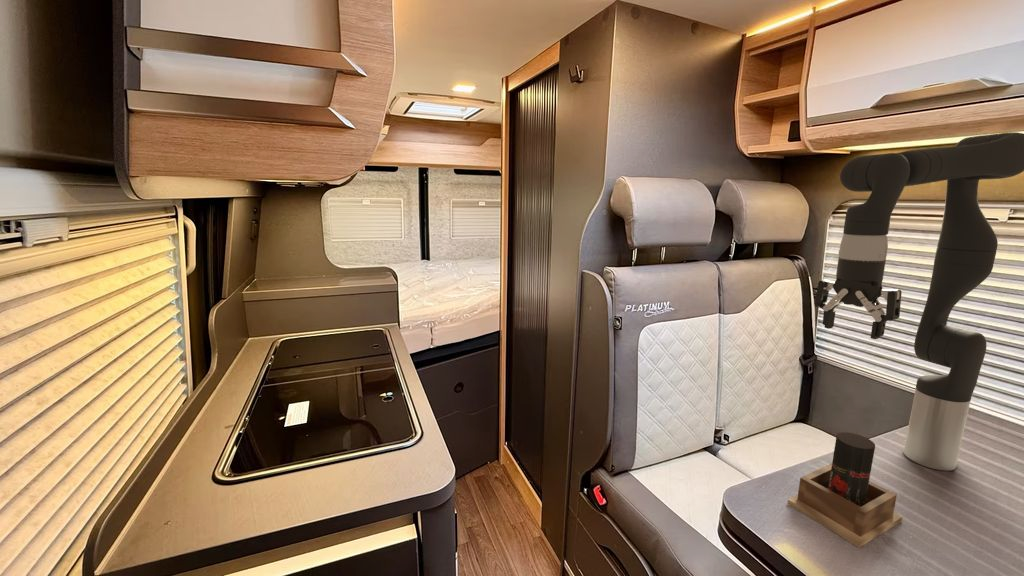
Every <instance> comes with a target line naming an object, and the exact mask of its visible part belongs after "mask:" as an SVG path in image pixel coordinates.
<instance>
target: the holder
mask: <svg viewBox="0 0 1024 576" xmlns="http://www.w3.org/2000/svg"><path fill="white" fill-rule="evenodd" d="M831 468H832V462H831V463H830V464H828V465H825V466H822V467H821V468H818V469H816V470H814V471H812V472H810V473H808V474H806V475H803V476H801V477H800V478H799V484H798V492H797V494H796V495H794V496H791V497H790V498H788V499H787V505H789V506H790V507H792V508H794V509H796V510H797V511H799V512H800V513H802V514H804V515H805V516H807V517H809V519H812V520H814V521H815V522H816V523H818V524H820V525H821V526H823V527H825V528H826V529H828V530H829V531H831V532H833V533H835V534H836V535H837V536H839V537H840V538H843V539H844V540H845V541H848V542H849V543H851V544H852V545H854V546H855V547H857V548H858V549H860V548H861V547H863V546H865V545H866V544H868V543H869V542H871V541H872V540H875V539H876V538H877V537H879V536H881V535H883V534H884V533H885V532H887V531H889V530H891V529H892V528H893V527H895V526H896V525H898V524H900V523H901V522H902V521H903V516H902V515H900V514H898V513H896V512H895V508H896V502H897V498H898V497H897V496H898V494H897V493H895V492H893V491H891V490H889V489H887V488H884V487H882V486H880V485H878V484H876V483H874V482H872V481H870V480H869V484H868V490H867V495H866V501H865V505H863V506H862V507H860V506H858V505H856V504H854V503H853V502H851V501H849V500H847V499H845V498H843V497H842V496H840V495H838V494H836V493H834V492H832V491H830V490H829V489H828V487H829V480H830V474H831Z"/></svg>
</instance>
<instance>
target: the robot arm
mask: <svg viewBox="0 0 1024 576" xmlns="http://www.w3.org/2000/svg"><path fill="white" fill-rule="evenodd" d="M1023 172H1024V133H1022V132H1018V131H1017V132H1011V131H1009V132H1002V133H1001V132H1000V133H995V134H994V133H993V134H992V133H991V134H983V135H976V136H974V135H973V136H969V137H965V138H962V139H960V141H958V142H957V143H956V144H955V145H953V146H937V147H936V146H934V147H925V148H917V149H910V150H905V151H900V152H889V153H888V152H887V153H879V154H870V155H859V156H856V157H854V158H851V159H850V160H849V161H847V162H846V163H845V164H844V166H843V167H842V168H841V171H840V174H839V180H840V183H841V184H842V186H843V187H844V188H845V189H847V190H848V191H850V192H856V193H862V192H863V193H864V192H866V193H867V192H870V195H869V196H868V197H867V200H866V201H865V202H863V203H858V204H854V205H851V206H850V207H848V208H847V209H846V212H845V219H844V226H843V230H842V231H843V232H842V233H843V234H842V238H841V240H840V245H839V250H838V259H837V267H836V275H835V276H836V277H835V278H836V279H835V281H831V280H830V279H823V280H819V281H818V284H817V288H816V292H815V298H814V302H813V303H814V304H813V305H814V307H816V308H820V309H822V311H823V316H822V325H823V326H824V329H827V330H829V329H833V328H834V325H835V317H836V313H837V312H836V311H835V309H836V308H837V307H839V306H840V305H842V304H844V305H848V306H850V305H852V306H855V307H858V308H859V307H860V308H863V307H864V308H865V309H866V312H868V313H870V314H869V315H871V317H872V318H873V321H872V324H871V326H872V327H871V331H870V339H873V340H878V339H880V338H881V337H883V336H884V334H885V329H886V324H887V322H892V321H894V320H898V319H900V315H901V314H900V313H901V303H902V290H901V289H899V288H896V289H884V288H883V280H884V275H885V274H884V273H885V267H886V262H887V255H888V250H889V248H888V246H889V230H890V223H891V217H892V214H893V211H894V209H895V207H896V205H897V203H898V201H899V199H900V197H901V195H902V193H903V191H904V189H905V188H906V187H911V186H912V187H913V186H918V185H925V184H932V183H938V182H941V181H942V182H944V181H946V192H945V201H944V202H945V204H944V210H943V217H942V223H941V228H940V231H939V232H940V234H939V238H938V241H937V245H936V251H935V255H934V259H933V266H932V267H933V268H932V272H931V273H932V274H931V278H930V284H929V290H928V293H927V298H926V302H925V306H924V308H923V312H922V315H921V318H920V321H919V324H918V327H917V331H916V333H915V337H914V345H913V347H914V348H913V349H914V354H915V356H916V357H917V358H918V359H920V360H923V361H926V362H928V363H932V364H936V365H939V366H943V367H946V368H950V370H949V372H948V374H947V375H940V374H939V375H938V374H937V375H936V374H927V375H922V376H919V377H918V378H917V381H916V384H915V388H914V390H915V391H914V395H913V401H912V406H911V412H910V416H909V422H908V426H907V432H906V436H905V441H904V447H903V451H902V452H903V454H904V456H905V457H906V458H908V459H909V460H911V462H912V461H913V462H914V463H916V464H919V465H921V466H923V467H926V468H929V469H934V470H939V471H948V472H949V471H954V470H955V469H956V467H957V463H958V459H959V455H960V450H961V446H962V442H963V437H964V432H965V428H966V423H967V419H968V413H969V410H970V406H971V405H970V404H971V402H972V401H971V400H972V396H973V393H974V391H975V389H976V385H977V383H978V379H979V375H980V371H981V368H982V365H983V362H984V360H985V355H986V352H987V340H986V337H985V336H984V335H983V334H982V333H981V332H979V331H978V332H977V331H974V330H969V329H964V328H960V327H954V326H950V325H947V323H948V319H949V316H950V314H951V312H952V310H953V309H954V308H955V306H956V305H957V303H959V302H960V301H961V300H962V299H963V298H964V297H965V296H966V295H968V294H969V293H970V292H972V291H973V290H974V289H976V288H977V287H978V286H980V285H981V284H982V283H983V282H984V281H985V280H986V279H987V278H988V277H989V276H990V275H991V273H992V271H993V268H994V263H995V259H996V256H997V255H996V254H997V251H998V238H997V236H996V233H995V231H994V229H993V228H992V226H991V224H990V222H989V221H988V219H987V218H986V216H985V215H984V214H983V212H982V210H981V207H980V205H979V201H978V193H979V192H978V189H979V183H980V180H981V181H982V180H998V179H999V180H1001V179H1007V178H1012V177H1015V176H1018V175H1021V173H1023ZM832 289H833V290H834V292H835V293H836V294H835V296H833V297H832V298H831V299H830V300H829V301H828V299H829V298H828V296H829V293H830V291H831V290H832ZM881 296H883V299H884V300H885V301H886V309H885V310H884V309H883V305H882V304H881V302H880V300H879V298H880V297H881Z"/></svg>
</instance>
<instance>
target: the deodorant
mask: <svg viewBox="0 0 1024 576" xmlns="http://www.w3.org/2000/svg"><path fill="white" fill-rule="evenodd" d="M833 449H834V450H833V456H832V462H831V463H832V468H831V474H830V480H829V487H828V489H829V490H830V491H832V492H834V493H836V494H838V495H840V496H842V497H843V498H845V499H847V500H849V501H851V502H853V503H854V504H856V505H858V506H860V507H862V506H863V505H865V501H866V495H867V490H868V484H869V481H870V477H871V472H872V466H873V460H874V457H875V456H874V455H875V450H876V444H875V443H874V441H872V440H871V439H869V438H868V437H865V436H863V435H860V434H857V433H852V432H846V431H845V432H838V433H837V434H836V437H835V443H834V448H833Z"/></svg>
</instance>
